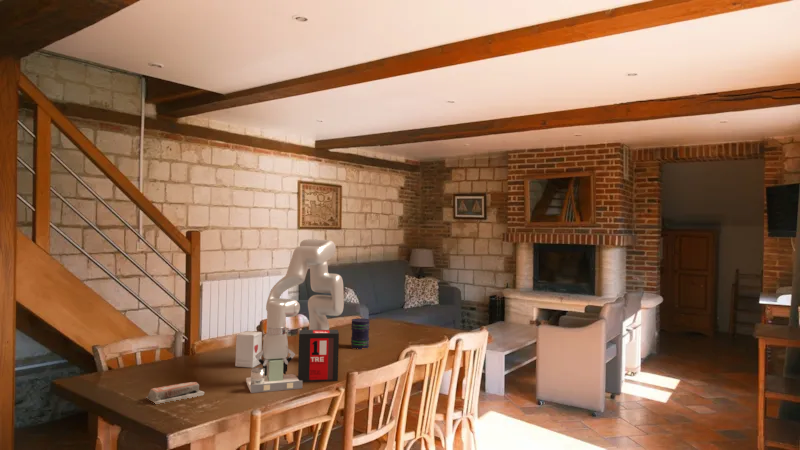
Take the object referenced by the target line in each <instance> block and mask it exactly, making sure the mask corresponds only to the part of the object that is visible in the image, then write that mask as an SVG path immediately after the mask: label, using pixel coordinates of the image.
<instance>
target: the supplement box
mask: <svg viewBox="0 0 800 450" xmlns="http://www.w3.org/2000/svg"><path fill="white" fill-rule="evenodd" d="M262 350H263V332H262V331H255V330H254V331H252V330H245V331H241V332H239V333H236V340H235V364H234V365H235V367H237V368H238V367H239V368H249V369H252V368H256V367H257V366H260V365H262V364H261V363H260V362H259V361H258V360H257V359H256V357H255V356H256V355H257V354H258V353H259V352H260V351H262ZM260 358H261V359H262V355H261V356H260Z"/></svg>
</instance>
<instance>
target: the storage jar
mask: <svg viewBox="0 0 800 450" xmlns="http://www.w3.org/2000/svg"><path fill="white" fill-rule="evenodd" d="M350 325H351V337H350V343H351V344H350V345H351V346H350V348H351V347H352V348H351V349H353V348H358V349H357V350H363V349H362V348H367V349H369V348H370V337H369V336H370V334H369V333H370V319H369V318H359V317H358V318H352V319H351V324H350ZM368 347H369V348H368Z"/></svg>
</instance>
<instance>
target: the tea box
mask: <svg viewBox="0 0 800 450" xmlns="http://www.w3.org/2000/svg"><path fill="white" fill-rule="evenodd" d="M283 363H284V360H283V359H272V360H268V362H267V364H266V365H267V375H266V376H267V378H268V380H269V381H280V380H283V375H284V373H283Z"/></svg>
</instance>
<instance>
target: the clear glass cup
mask: <svg viewBox="0 0 800 450" xmlns="http://www.w3.org/2000/svg"><path fill="white" fill-rule="evenodd" d="M250 378H251V385H256V384H264V378H265V368H263V367H253V368H250Z"/></svg>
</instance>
